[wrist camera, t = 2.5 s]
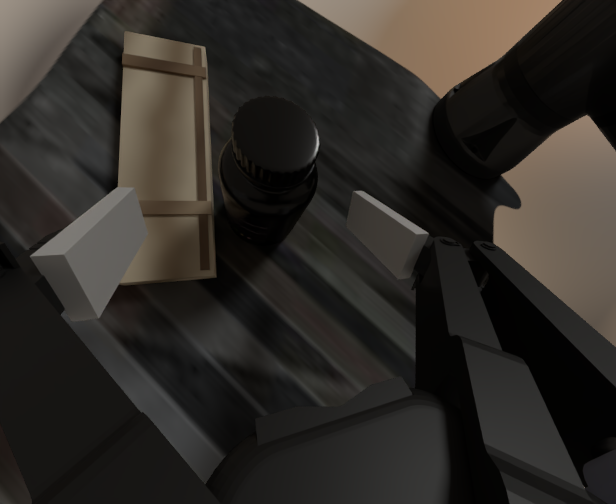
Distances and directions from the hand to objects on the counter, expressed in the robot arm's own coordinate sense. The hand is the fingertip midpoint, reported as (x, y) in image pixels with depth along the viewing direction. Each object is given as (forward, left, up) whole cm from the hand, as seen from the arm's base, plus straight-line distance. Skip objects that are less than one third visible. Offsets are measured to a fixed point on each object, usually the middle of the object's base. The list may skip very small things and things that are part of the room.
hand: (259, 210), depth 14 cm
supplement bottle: (-1, -3, -9) cm, 9 cm away
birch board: (+7, -9, -8) cm, 14 cm away
